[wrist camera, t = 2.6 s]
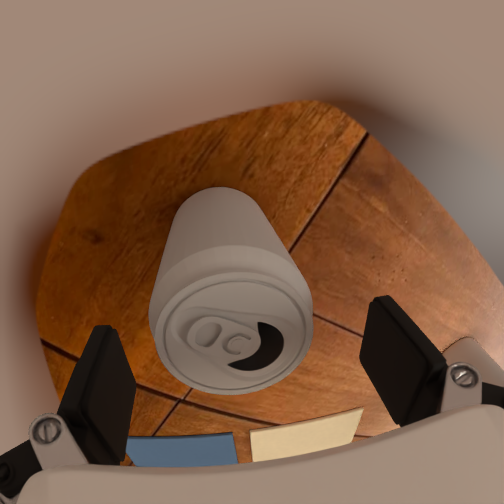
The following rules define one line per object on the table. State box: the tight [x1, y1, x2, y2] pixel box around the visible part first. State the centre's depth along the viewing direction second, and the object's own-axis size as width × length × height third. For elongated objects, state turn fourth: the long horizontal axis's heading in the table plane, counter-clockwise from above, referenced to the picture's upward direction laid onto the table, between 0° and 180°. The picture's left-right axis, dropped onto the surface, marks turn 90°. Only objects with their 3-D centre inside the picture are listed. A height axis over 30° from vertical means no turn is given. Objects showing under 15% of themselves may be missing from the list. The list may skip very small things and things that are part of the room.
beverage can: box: [149, 187, 313, 395], centre depth 16 cm, size 6×6×12 cm
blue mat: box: [126, 432, 238, 467], centre depth 33 cm, size 14×14×1 cm
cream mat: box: [250, 407, 364, 462], centre depth 35 cm, size 14×14×1 cm
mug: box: [442, 337, 504, 387], centre depth 29 cm, size 12×8×11 cm
